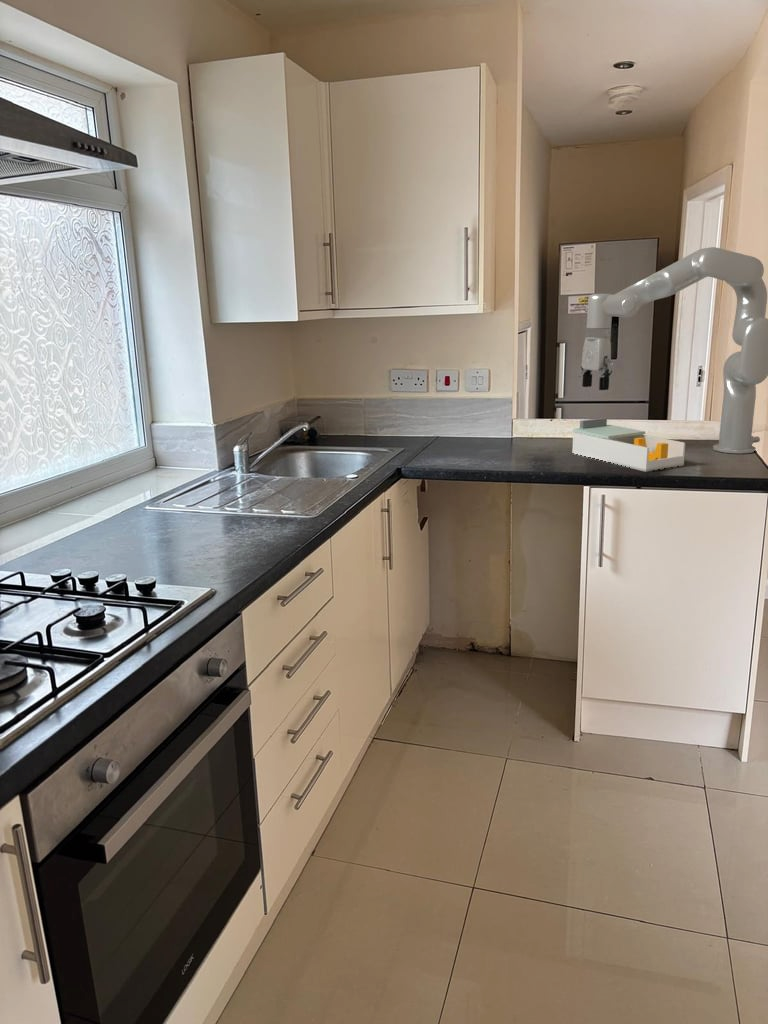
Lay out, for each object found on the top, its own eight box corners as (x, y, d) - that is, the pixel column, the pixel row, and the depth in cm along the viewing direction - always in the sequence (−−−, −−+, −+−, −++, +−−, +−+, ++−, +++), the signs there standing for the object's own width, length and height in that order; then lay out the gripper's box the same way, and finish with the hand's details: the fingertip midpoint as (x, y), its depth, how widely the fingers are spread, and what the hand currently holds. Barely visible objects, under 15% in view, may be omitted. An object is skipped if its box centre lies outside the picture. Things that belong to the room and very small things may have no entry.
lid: (609, 427, 260) (609, 417, 259) (645, 433, 246) (645, 423, 245) (573, 431, 254) (573, 421, 253) (608, 438, 240) (608, 428, 239)
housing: (607, 448, 262) (609, 427, 260) (683, 465, 234) (685, 442, 232) (572, 453, 256) (573, 432, 254) (645, 471, 228) (647, 448, 226)
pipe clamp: (628, 459, 242) (629, 438, 240) (639, 457, 244) (641, 437, 242) (655, 466, 231) (656, 445, 230) (666, 465, 233) (668, 443, 231)
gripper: (573, 333, 255) (570, 386, 259) (603, 335, 239) (600, 391, 243) (593, 332, 257) (590, 385, 261) (624, 334, 241) (620, 390, 245)
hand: (595, 388), depth 252 cm, fingers open, 9 cm apart
